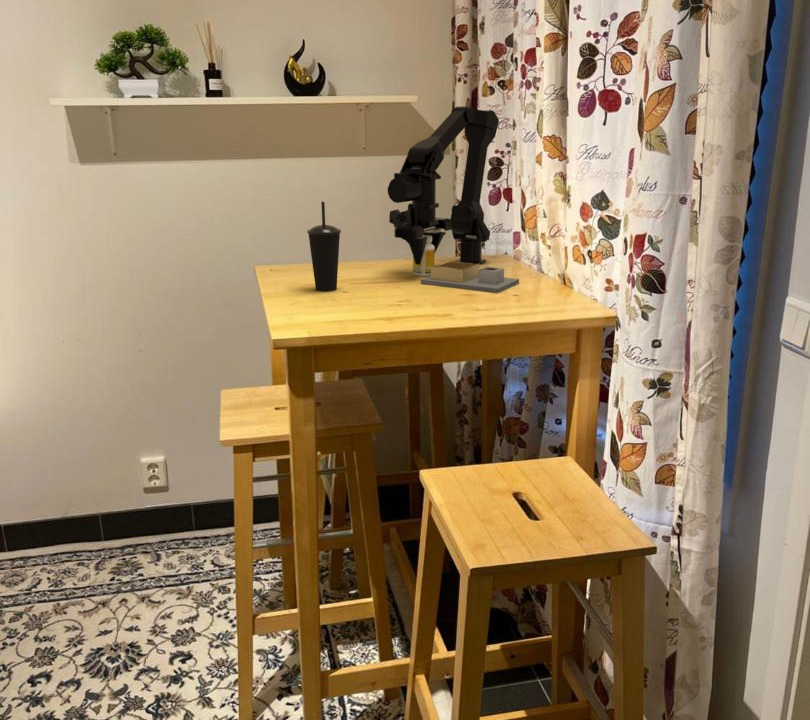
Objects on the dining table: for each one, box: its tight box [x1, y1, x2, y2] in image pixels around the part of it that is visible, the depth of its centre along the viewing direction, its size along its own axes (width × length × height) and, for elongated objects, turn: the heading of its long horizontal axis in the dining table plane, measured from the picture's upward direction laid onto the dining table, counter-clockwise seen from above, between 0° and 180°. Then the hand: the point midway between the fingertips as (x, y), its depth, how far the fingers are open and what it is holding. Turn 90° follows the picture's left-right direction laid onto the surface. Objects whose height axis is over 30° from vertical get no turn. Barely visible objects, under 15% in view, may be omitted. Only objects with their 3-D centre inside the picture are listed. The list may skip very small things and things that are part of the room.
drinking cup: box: [306, 201, 342, 292], centre depth 179 cm, size 8×8×20 cm
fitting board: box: [420, 276, 520, 294], centre depth 187 cm, size 12×20×1 cm, turn 58°
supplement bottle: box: [412, 235, 436, 277], centre depth 196 cm, size 5×5×10 cm
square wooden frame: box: [431, 260, 480, 283], centre depth 188 cm, size 8×8×3 cm
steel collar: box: [478, 266, 505, 285], centre depth 184 cm, size 4×4×3 cm
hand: (423, 262), depth 197 cm, fingers closed on supplement bottle, 5 cm apart
